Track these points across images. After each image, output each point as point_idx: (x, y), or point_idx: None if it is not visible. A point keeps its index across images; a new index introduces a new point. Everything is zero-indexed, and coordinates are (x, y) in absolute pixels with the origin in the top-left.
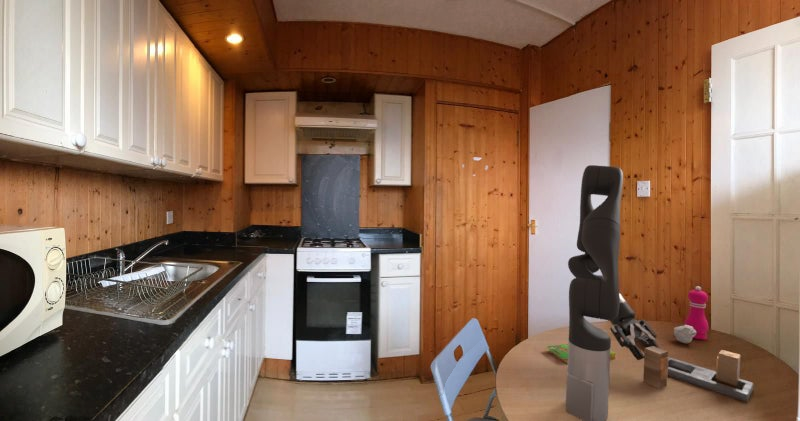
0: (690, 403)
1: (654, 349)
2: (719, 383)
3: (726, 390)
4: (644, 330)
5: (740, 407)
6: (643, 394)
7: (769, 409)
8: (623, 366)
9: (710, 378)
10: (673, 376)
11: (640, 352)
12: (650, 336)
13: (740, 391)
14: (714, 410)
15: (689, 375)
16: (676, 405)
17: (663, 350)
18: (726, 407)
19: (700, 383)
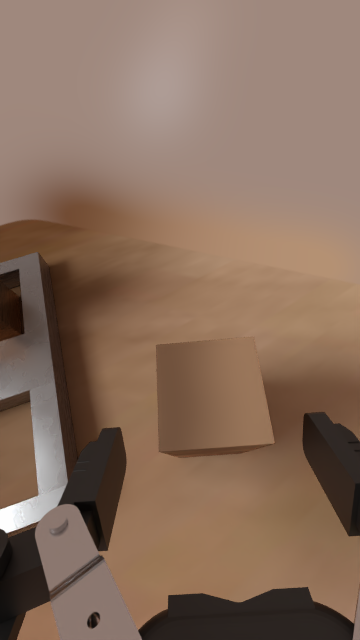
0: (214, 299)
1: (217, 398)
2: (25, 311)
3: (47, 292)
4: (102, 627)
5: (98, 256)
6: (329, 378)
7: (42, 236)
8: None
9: (6, 341)
10: (73, 435)
11: (330, 432)
12: (72, 545)
13: (31, 265)
14: (184, 263)
15: (51, 380)
16: (270, 303)
17: (168, 366)
18: (134, 264)
19: (57, 352)
